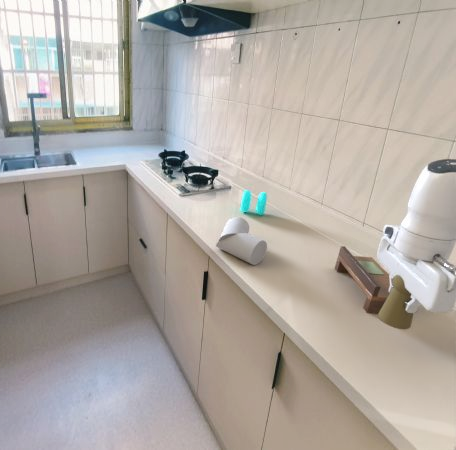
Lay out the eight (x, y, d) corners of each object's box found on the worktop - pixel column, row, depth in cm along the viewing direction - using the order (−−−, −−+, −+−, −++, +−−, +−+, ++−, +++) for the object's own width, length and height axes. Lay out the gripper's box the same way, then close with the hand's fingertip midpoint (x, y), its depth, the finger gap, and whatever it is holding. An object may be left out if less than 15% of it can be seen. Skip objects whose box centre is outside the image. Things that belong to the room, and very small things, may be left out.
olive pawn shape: (383, 326, 71) (400, 282, 67) (374, 308, 76) (388, 267, 72) (416, 331, 70) (435, 287, 65) (404, 313, 75) (420, 271, 71)
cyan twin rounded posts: (241, 207, 154) (244, 186, 150) (264, 211, 151) (267, 189, 147) (239, 215, 146) (242, 193, 142) (263, 219, 143) (267, 196, 139)
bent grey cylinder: (198, 243, 117) (245, 267, 103) (205, 214, 114) (254, 234, 100) (228, 240, 129) (274, 261, 115) (236, 213, 126) (284, 232, 112)
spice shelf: (367, 271, 106) (374, 248, 103) (407, 316, 86) (418, 290, 83) (334, 268, 107) (340, 246, 104) (366, 312, 87) (375, 286, 84)
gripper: (482, 273, 56) (451, 338, 61) (410, 224, 74) (391, 277, 80) (441, 270, 56) (414, 335, 62) (380, 222, 75) (363, 275, 81)
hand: (400, 302), depth 71 cm, fingers closed on olive pawn shape, 4 cm apart
